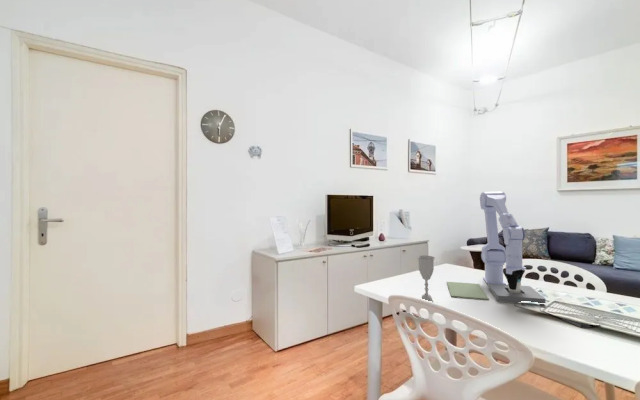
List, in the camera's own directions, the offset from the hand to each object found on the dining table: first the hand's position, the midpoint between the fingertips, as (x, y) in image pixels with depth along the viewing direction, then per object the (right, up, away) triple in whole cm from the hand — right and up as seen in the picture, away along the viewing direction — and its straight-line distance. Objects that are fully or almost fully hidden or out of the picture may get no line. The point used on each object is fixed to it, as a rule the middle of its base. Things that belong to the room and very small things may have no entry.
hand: (514, 287), depth 121 cm
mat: (-16, -4, +9) cm, 19 cm away
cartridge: (0, -3, 0) cm, 3 cm away
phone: (+5, -5, -21) cm, 21 cm away
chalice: (-38, -5, -2) cm, 38 cm away
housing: (0, -4, 0) cm, 4 cm away
